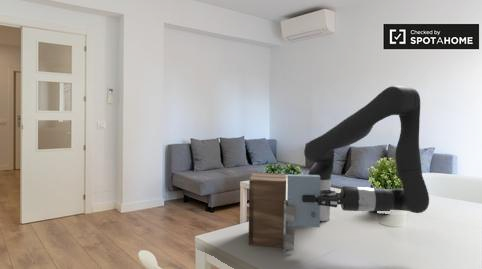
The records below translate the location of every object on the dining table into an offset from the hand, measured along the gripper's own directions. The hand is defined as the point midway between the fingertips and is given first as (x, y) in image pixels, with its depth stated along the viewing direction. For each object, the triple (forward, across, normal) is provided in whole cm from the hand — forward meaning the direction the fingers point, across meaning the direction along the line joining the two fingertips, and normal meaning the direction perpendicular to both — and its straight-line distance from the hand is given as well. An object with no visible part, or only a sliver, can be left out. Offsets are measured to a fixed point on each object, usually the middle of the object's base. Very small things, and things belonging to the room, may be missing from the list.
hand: (302, 197), depth 108 cm
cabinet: (+10, -7, +17) cm, 21 cm away
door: (0, 0, +9) cm, 9 cm away
